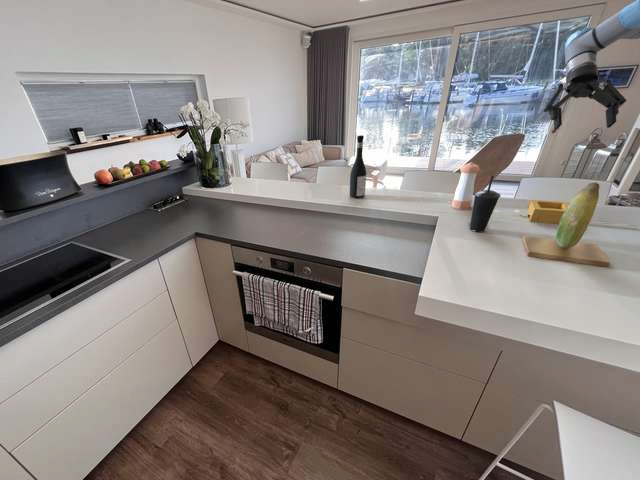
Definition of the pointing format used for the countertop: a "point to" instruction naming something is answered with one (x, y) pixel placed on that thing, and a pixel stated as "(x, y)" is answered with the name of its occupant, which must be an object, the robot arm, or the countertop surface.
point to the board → (565, 251)
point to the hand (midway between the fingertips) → (584, 126)
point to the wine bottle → (358, 173)
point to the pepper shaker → (465, 186)
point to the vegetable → (577, 216)
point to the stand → (546, 211)
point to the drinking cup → (483, 207)
